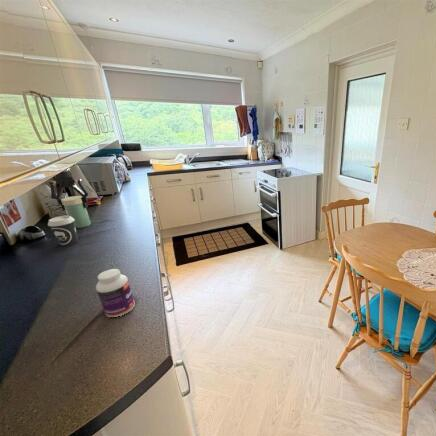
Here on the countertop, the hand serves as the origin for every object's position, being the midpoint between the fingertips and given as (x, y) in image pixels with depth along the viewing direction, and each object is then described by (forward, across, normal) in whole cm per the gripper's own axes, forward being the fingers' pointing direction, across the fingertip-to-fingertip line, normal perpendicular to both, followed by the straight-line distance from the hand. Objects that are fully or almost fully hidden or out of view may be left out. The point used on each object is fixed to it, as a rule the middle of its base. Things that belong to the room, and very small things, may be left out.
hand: (75, 208), depth 137 cm
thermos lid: (-6, 0, 0) cm, 6 cm away
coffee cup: (+11, +5, -30) cm, 33 cm away
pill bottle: (+11, +39, -93) cm, 101 cm away
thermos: (+11, 0, 0) cm, 11 cm away
